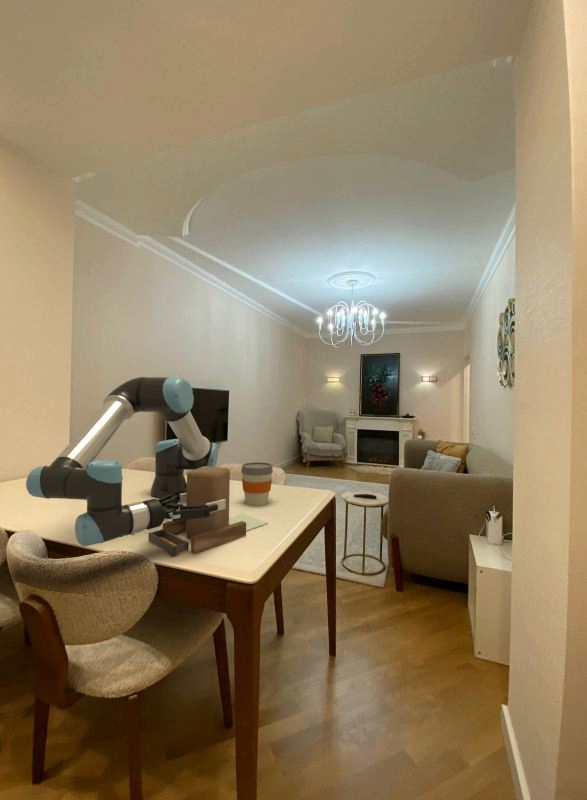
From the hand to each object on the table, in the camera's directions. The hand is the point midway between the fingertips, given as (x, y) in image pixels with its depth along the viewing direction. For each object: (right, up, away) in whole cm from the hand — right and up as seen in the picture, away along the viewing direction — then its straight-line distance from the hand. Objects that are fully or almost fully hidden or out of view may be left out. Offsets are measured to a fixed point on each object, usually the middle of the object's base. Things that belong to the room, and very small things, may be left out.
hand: (211, 498), depth 110 cm
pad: (+9, -11, +10) cm, 17 cm away
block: (-1, -11, 0) cm, 11 cm away
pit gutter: (-10, -11, -9) cm, 18 cm away
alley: (-2, -11, -1) cm, 11 cm away
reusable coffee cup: (+11, -11, +33) cm, 37 cm away
